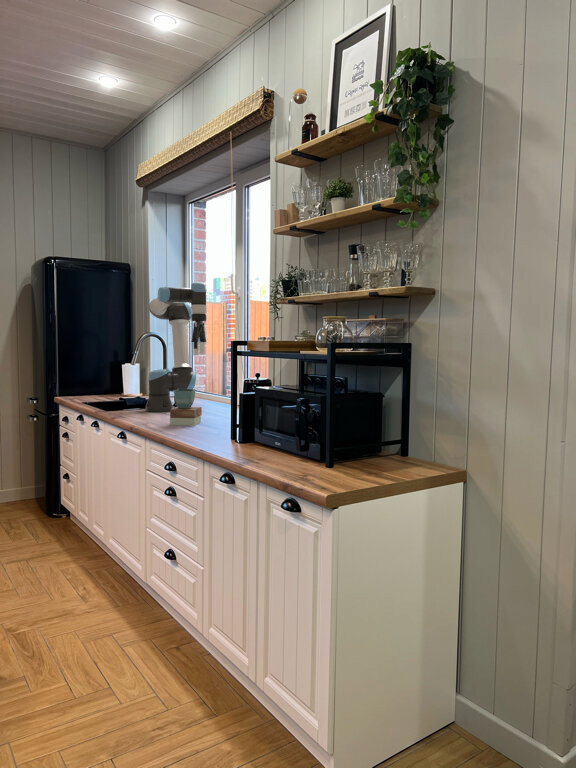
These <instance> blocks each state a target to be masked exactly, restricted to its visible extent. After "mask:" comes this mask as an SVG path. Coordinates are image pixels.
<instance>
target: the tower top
mask: <svg viewBox="0 0 576 768" xmlns="http://www.w3.org/2000/svg"><path fill="white" fill-rule="evenodd" d="M202 410H203V409H202V406H191V407H190V408H188V409H187V408H178V406H176V407H173V409H170V411H169V419H170V418H196V417H199V416H201V417H202Z"/></svg>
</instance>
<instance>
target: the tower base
mask: <svg viewBox="0 0 576 768" xmlns="http://www.w3.org/2000/svg"><path fill="white" fill-rule="evenodd" d="M201 422H202V415H201V416H199V417H196V418H170V417H169V425H170V426H194V427H195V426H197V425H199V424H200V423H201Z"/></svg>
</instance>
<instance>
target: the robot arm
mask: <svg viewBox="0 0 576 768" xmlns="http://www.w3.org/2000/svg"><path fill="white" fill-rule="evenodd" d="M148 309H149V313H150V314H151V315H152V316H153V317H155V318H157V319H159V320H168V324H170V326H171V332H172V348H173V364H174V365H173V367H172V368H171V371H170V369H169V368H160V369H156V370H151V371H149V373H148V378H147V380H148V381H147V382H148V398H147V402H146V405H145V411H146V412H152V413H161V412H164V413H165V412H170V409H173V408H174V406H173V402H172V400H171V397H170V392H173V393H174V390H177V389H195V386H196V382H197V373H196V371H195V370H193V367H192V365H190V356H189V355H190V353H189V340H188V326H187V325H188V324H189V323H190V321H192V323H193V324H192V325H193V326H192V327H193V328H192V338H191V343H192V349H193V350H192V355H193V356H199V355H206V343H207V338H206V331H205V330H206V329H205V323H204V322H207V314H206V313H207V285H206V283H205V282H192V283H191V284H190V287H189V288H188V287H167V286H162V287H159V288H158V290H157V298H153V299H152V300H151V301H150V302H149V304H148Z"/></svg>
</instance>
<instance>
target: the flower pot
mask: <svg viewBox="0 0 576 768" xmlns="http://www.w3.org/2000/svg"><path fill="white" fill-rule="evenodd" d="M173 395H174V401H175V405H176V407H178V408H187V409H188V408H190V407H193V404H194V401H195V398H196V397H195V396H196V389H195V388H194V389H177V390H174V392H173Z"/></svg>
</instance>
